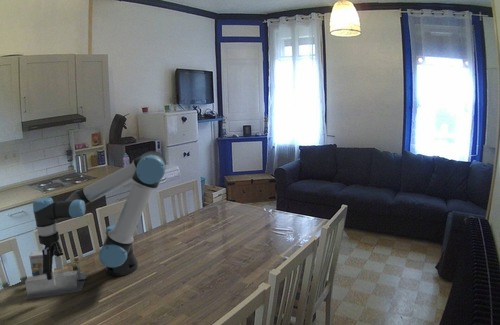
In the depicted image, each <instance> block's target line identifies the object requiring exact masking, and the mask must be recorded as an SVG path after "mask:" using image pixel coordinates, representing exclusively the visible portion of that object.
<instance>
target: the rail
mask: <svg viewBox="0 0 500 325" xmlns="http://www.w3.org/2000/svg"><path fill="white" fill-rule="evenodd" d="M53 273H54V272H53ZM54 279H55V285H53V286H48V283H47V278H46V275H38V276H32V275H31V276H27V278H26V280H25V281H24V283H25V284H24V285H25V289H26V297H27V296H31V295H38V294H45V293H52V292H58V291H65V290H72V289H77V288H78V286H79V278H78V270H75V271H73V270H69V271H68V270H67V271H62V272H61V271H60V272H55V273H54Z"/></svg>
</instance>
